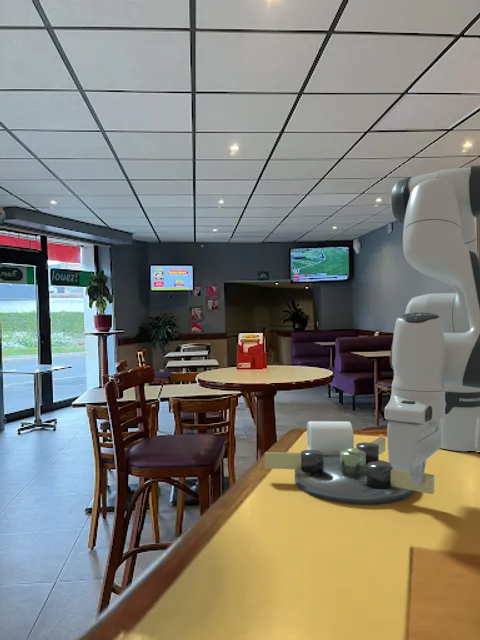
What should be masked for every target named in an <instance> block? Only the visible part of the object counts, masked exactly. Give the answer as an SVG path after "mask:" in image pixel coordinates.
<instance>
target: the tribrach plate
mask: <svg viewBox="0 0 480 640" xmlns="http://www.w3.org/2000/svg"><path fill="white" fill-rule="evenodd" d="M379 462H386V463H389V461H386V460H381V459H379ZM389 464H390V463H389ZM294 483H295V485H296V487H298V489H299V490H301V491H303V492H304V493H306V494H308V495H311V496H313V497H315V498H319V499H322V500H325V501H330V502H334V503H340V504H341V503H342V504H349V505H362V506H363V505H364V506H365V505H367V506H368V505H371V506H372V505H385V504H386V505H387V504H391V503H397V502H401V501H403V500H405V499H407V498H409V497H410V496H412V495H413V493H414V491H413V490H409V489H404V488H399V487H394V486H391V487H388V488H378V487H373V486H370V485H368V484H367V464H366V453H365V452H364V451H361V450H359V449H357V448H356V447H354V448H347V449H345V450H341V451H340V456H324V471H323V472H322V473H316V474H312V473H306V472H303V471H301V469H294Z"/></svg>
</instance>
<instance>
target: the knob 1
mask: <svg viewBox="0 0 480 640" xmlns="http://www.w3.org/2000/svg"><path fill="white" fill-rule="evenodd" d="M324 457H325V456H324V453H323V452H322V451H318V450H308V449H305V450H301V451H300V452H285V451H284V452H281V451H277V452H276V451H265V452H264V469H270V470H271V469H275V470H295V469H301V471H303V472H306V473H312V474H316V473H322V472H323V471H324Z"/></svg>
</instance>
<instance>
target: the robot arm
mask: <svg viewBox="0 0 480 640" xmlns="http://www.w3.org/2000/svg"><path fill="white" fill-rule="evenodd" d="M389 201H390V209H391V212H392V214H393V218H394V219H396V221H398V222H399V223H402V224H403V230H402V248H403V250H402V251H403V256H404V258H405V260H406V262H407V263H408V264H409V265H410V266H411V268H413V269H415V270H416V271H418V272H419V273H421V274H423V275H425V276H427V277H430V278H434V279H436V280H438V281H439V282H441V283H444V284H446V285H449V286H450V287H451V288H452V289H454V291H455V292H446V293H445V292H442V293H440V292H439V293H427V294H422V295H418V296H414V297H412V298H411V299H410V300H409V301H408V303H407V305H406V308H405V313H404V314H401V315H400V316H398V317H397V318H396V320H395V324H394V331H393V338H392V343H391V346H390V368H391V369H392V370H393V379H392V383H391V395H390V399H389V401H388V403H387V404H386V405H385V407H384V411H383V412H384V419H385V420H387V421H388V423H387V426H386V427H387V428H386V429H387V430H386V435H387V436H386V437H387V439H386V440H387V456H388V457H387V458H388V462H389V463H390V465H391V467H392V468H394V469H399V470H405V471H409V472H410V475H411V485H413V486H418V487H419V486H421V485H422V484H423V478H424V473H425V472H426V471H425V470H426V466H427V460H428V459H429V458H430V457H431V456H433V455H434V454H435V453H436V452H438V451H439V450H441V449H443V450H444V449H445V450H449V451H457V452H467V451H480V258H479V254H478V243H477V231H476V222H475V218H476V219H477V218H479V217H480V165H471V166H470V167H453V168H446V169H445V168H444V169H440V170H437V171H435V172H434V171H432V172H429V173H426V174H425V173H424V174H420V175H417V176H413V177H411V176H407V177H406V178H403V179H400V180H398V181H397V182H396V183H395V184H394V186H393V187H392V189H391V194H390V199H389Z"/></svg>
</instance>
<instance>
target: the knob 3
mask: <svg viewBox="0 0 480 640" xmlns="http://www.w3.org/2000/svg"><path fill="white" fill-rule="evenodd" d="M386 462H387V461H386ZM386 462H378V461H375V462H369V463H367V484H368V485H370V486H373V487H378V488H388V487H391V486H394V487H399V488H404V489H409V490H414V491H413V492H415V491H416V492H419V493H424V494H431V495H433V494H434V493H435V474H431V473H430V474H429V473H426V472H424V478H423V484H422V485H421V486H419V487H418V486H413V485H411V475H410V472H409V471H405V470H399V469H394V468H392V467H391V465H390V464H389V463H386Z"/></svg>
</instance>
